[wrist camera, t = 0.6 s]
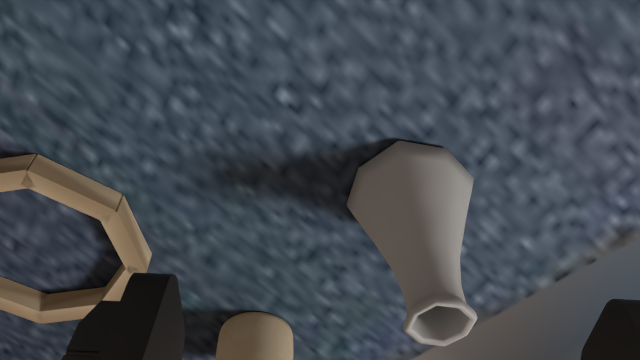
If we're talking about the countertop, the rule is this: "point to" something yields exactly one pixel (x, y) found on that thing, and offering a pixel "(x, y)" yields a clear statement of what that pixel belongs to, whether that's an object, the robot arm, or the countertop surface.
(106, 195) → the maple ring
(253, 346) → the candle
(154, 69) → the countertop surface
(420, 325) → the flask
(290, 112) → the countertop surface
